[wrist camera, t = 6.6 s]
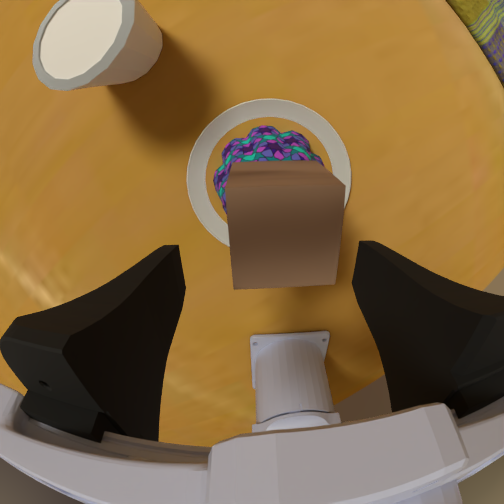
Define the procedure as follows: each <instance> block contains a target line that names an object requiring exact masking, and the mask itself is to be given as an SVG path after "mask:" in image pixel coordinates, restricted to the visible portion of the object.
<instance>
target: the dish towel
mask: <svg viewBox="0 0 504 504" xmlns="http://www.w3.org/2000/svg"><path fill="white" fill-rule="evenodd" d="M446 1H447V2H448V3H449V4H450V5H451V7H452V8H453V9H454V11H455V12H456V14H457V15H458V16H459V18H460V19H461V20H462V22H463V23H464V24H465V25H466V27H467V28H468V30H469V32H470V33H471V35H472V36H473V38H474V39H475V40H476V42H477V43H478V45H479V46H480V48H481V49H482V51H483V53H484V54H485V56H486V57H487V59H488V61H489V63H490V64H491V66H492V67H493V69H494V71H495V72H496V74H497V76H498V78H499V80H500V81H501V83H502V85H503V87H504V0H446Z"/></svg>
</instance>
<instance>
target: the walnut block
mask: <svg viewBox="0 0 504 504" xmlns="http://www.w3.org/2000/svg"><path fill="white" fill-rule="evenodd" d="M345 190H346V185H345V184H343V183H342V182H341V181H340V180H339V179H338V178H337V177H335V176H334V175H333V174H332V173H331V172H330V171H328V170H327V169H326V168H325V167H324V166H322V165H321V164H320V163H319V162H318V161H310V160H293V161H252V162H233V163H232V166H231V169H230V173H229V176H228V179H227V183H226V186H225V196H226V208H227V221H228V232H229V244H230V255H231V266H232V277H233V287H234V289H258V288H281V287H300V286H317V285H332V284H335V282H336V275H337V267H338V260H339V252H340V244H341V235H342V225H343V215H344V203H345Z"/></svg>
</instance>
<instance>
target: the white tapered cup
mask: <svg viewBox="0 0 504 504" xmlns="http://www.w3.org/2000/svg"><path fill="white" fill-rule="evenodd" d="M162 47H163V46H162V33H161V31H160V29H159V27H158V26H157V24H156V23H155V21H154V20H153V19H152V17H151V16H150V15H149V14H148V12H147V11H146V10H145V9H144V7H143V6H142V5H141V4H140V2H139V1H138V0H59V1H58V2H57V3H56V4H55V5H54V6H53V7H52V9H51V10H50V12H49V13H48V14H47V16H46V17H45V19H44V20H43V22H42V23H41V25H40V28H39V30H38V33H37V36H36V39H35V42H34V44H33V66H34V69H35V71H36V74H37V77H38V79H39V80H40V81H41V82H42V83H44V84H45V85H46V86H47V87H49V88H50V89H55V90H65V91H69V90H75V89H82V88H89V87H96V86H105V85H114V84H123V83H127V82H131V81H135V80H136V79H138V78H139V77H141V76H143V75H144V74H146V73H147V72H148V71H149V70H150V69H151V68H152V66H153V65H154V64H155V63H156V62H157V60H158V57H159V55H160V52H161V50H162Z"/></svg>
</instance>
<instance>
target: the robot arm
mask: <svg viewBox="0 0 504 504" xmlns="http://www.w3.org/2000/svg"><path fill="white" fill-rule="evenodd" d="M352 285H353V289H354V292H355V296H356V299H357V302H358V304H359V307H360V309H361V311H362V313H363V316H364V318H365V320H366V322H367V324H368V327H369V329H370V331H371V333H372V335H373V338H374V340H375V342H376V345H377V348H378V350H379V353H380V357H381V360H382V364H383V368H384V372H385V376H386V380H387V385H388V390H389V395H390V401H391V408H392V413H389V414H385V415H381V416H376V417H371V418H366V419H361V420H356V421H350V422H349V421H344V422H341V419H340V414H339V412H337V413H335V410H334V405H333V401H332V396H331V392H330V387H329V383H328V379H327V374H326V370H325V366H324V360H325V355H326V351H327V347H328V342H329V338H330V334H329V332H328V331H318V332H304V333H287V334H264V335H252V336H251V337H250V347H251V366H252V384H253V388H254V389H256V424H253V425H252V433H245V434H239V435H237V436H234V437H231V438H228V439H226V440H223V441H220V442H218V443H216V444H215V445H213V446H212V447H201V446H189V445H179V444H171V443H163V442H158V438H159V416H160V404H161V395H162V387H163V379H164V373H165V367H166V361H167V357H168V353H169V349H170V346H171V343H172V339H173V336H174V333H175V330H176V327H177V324H178V320H179V317H180V314H181V311H182V307H183V302H184V296H185V290H186V286H185V280H184V274H183V269H182V263H181V257H180V251H179V245H164V246H162V247H160V248H158V249H157V250H155V251H154V252H152V253H151V254H149V255H148V256H147V257H145V258H144V259H142V260H141V261H140V262H138V263H137V264H135V265H134V266H133V267H131V268H130V269H128V270H127V271H125V272H124V273H122V274H121V275H119V276H118V277H116V278H115V279H113V280H111V281H110V282H108V283H106V284H105V285H103V286H101V287H99V288H97V289H95V290H93V291H91V292H89V293H87V294H85V295H83V296H81V297H78V298H76V299H74V300H72V301H69V302H67V303H64V304H62V305H59V306H56V307H53V308H50V309H47V310H44V311H40V312H36V313H32V314H28V315H24V316H20V317H17V318H16V319H15V320H14V321H13V322H12V324H11V325H10V326H9V328H8V329H7V331H6V332H5V333H4V335H3V336H2V337H1V339H0V350H1V353H2V355H3V357H4V359H5V361H6V362H7V364H8V365H9V367H10V368H11V369H12V371H13V372H14V373H15V375H16V376H17V377H18V378H19V380H20V381H21V382H22V383H23V385H24V386H25V387H26V388H27V389H28V391H27V393H26V395H25V397H24V396H23V395H22V394H21V393H19V392H18V391H16V390H14V389H11V388H9V387H7V386H5V385H3V384H0V457H1V458H2V459H4V460H5V461H7V462H8V463H9V464H11V465H12V466H14V467H15V468H17V469H18V470H20V471H22V472H23V473H25V474H27V475H28V476H30V477H32V478H34V479H35V480H37V481H39V482H41V483H43V484H45V485H46V486H48V487H50V488H52V489H55V490H56V491H58V492H60V493H63V494H65V495H67V496H69V497H71V498H74V499H76V500H78V501H81V502H83V503H86V504H463V503H462V498H461V495H460V491H459V487H458V484H457V483H459V482H461V481H462V480H465V479H466V478H468V477H470V476H472V475H473V474H475V473H476V472H478V471H480V470H481V469H483V468H485V467H486V466H488V465H489V464H491V463H492V462H494V461H495V460H497V459H498V458H500V457H501V456H502V455H504V296H499V295H495V294H491V293H487V292H483V291H480V290H476V289H473V288H470V287H467V286H464V285H462V284H459V283H456V282H454V281H451V280H449V279H447V278H444V277H442V276H440V275H438V274H435V273H433V272H431V271H429V270H428V269H426V268H424V267H422V266H420V265H418V264H416V263H414V262H413V261H411V260H409V259H407V258H406V257H404V256H402V255H400V254H399V253H397V252H395V251H393V250H391V249H390V248H388V247H386V246H384V245H382V244H380V243H378V242H375V241H359V247H358V253H357V258H356V264H355V269H354V274H353V280H352ZM324 338H325V339H324ZM255 342H257V343H255Z"/></svg>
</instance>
